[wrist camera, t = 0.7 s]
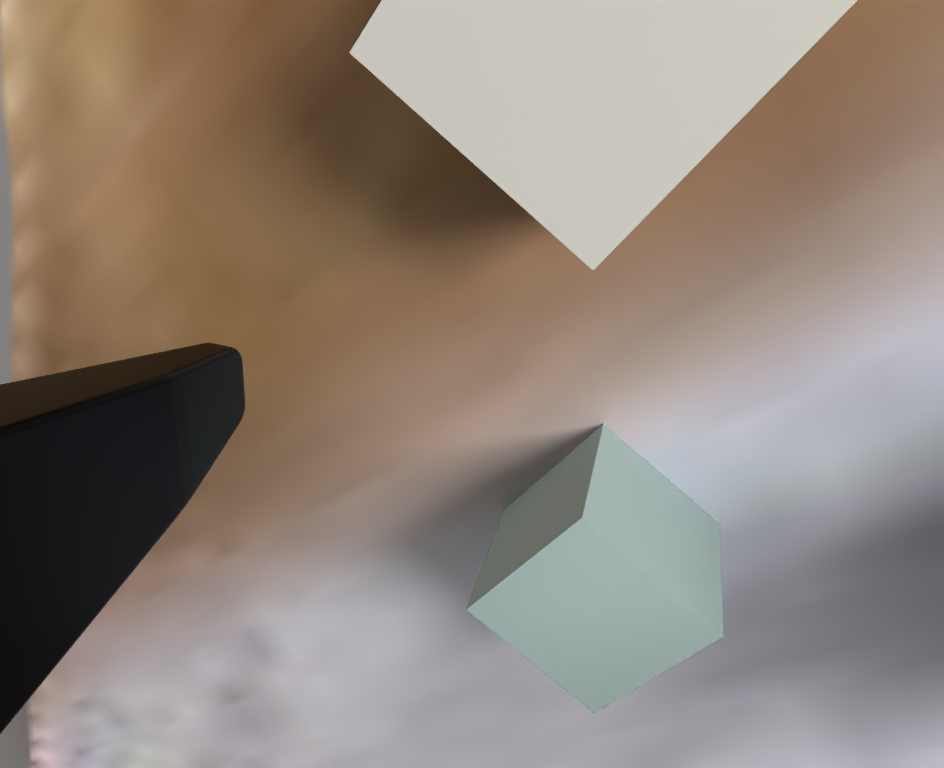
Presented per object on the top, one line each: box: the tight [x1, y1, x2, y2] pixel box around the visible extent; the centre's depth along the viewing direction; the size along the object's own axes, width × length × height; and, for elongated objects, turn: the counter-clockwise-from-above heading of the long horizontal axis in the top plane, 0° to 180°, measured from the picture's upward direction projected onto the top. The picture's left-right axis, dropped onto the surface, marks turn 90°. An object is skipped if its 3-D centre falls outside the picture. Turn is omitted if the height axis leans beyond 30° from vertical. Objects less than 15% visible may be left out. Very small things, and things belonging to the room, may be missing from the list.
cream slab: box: [349, 0, 857, 270], centre depth 14 cm, size 6×6×4 cm
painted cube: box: [466, 424, 724, 713], centre depth 23 cm, size 5×5×5 cm
